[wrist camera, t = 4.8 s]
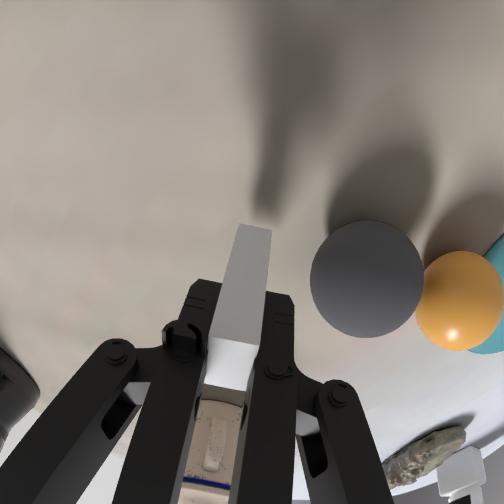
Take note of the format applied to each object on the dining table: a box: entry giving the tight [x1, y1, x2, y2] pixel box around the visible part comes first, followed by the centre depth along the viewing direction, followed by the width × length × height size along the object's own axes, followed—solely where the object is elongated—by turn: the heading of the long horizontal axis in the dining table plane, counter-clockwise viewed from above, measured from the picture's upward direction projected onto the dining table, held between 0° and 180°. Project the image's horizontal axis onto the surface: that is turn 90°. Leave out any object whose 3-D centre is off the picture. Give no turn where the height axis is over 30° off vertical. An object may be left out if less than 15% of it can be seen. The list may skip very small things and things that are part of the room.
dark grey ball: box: [310, 220, 424, 338], centre depth 14 cm, size 6×6×6 cm
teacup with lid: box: [178, 400, 242, 504], centre depth 24 cm, size 12×9×12 cm
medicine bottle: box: [436, 446, 486, 504], centre depth 32 cm, size 7×7×12 cm
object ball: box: [415, 251, 504, 351], centre depth 15 cm, size 6×6×6 cm
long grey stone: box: [382, 426, 466, 490], centre depth 37 cm, size 35×5×10 cm
